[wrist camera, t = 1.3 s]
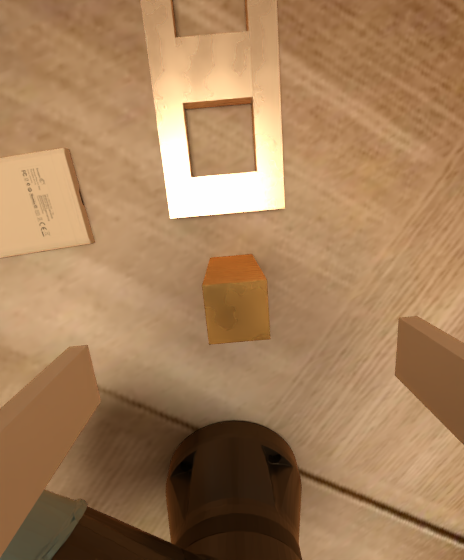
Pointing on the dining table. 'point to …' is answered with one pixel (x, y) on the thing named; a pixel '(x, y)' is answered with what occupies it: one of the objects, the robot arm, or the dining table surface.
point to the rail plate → (212, 93)
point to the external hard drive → (41, 204)
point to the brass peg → (235, 300)
